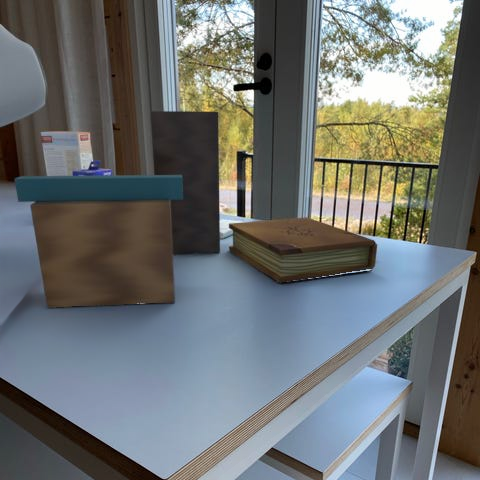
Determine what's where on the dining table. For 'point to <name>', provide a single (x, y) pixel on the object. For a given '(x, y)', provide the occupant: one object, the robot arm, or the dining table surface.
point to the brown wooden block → (105, 252)
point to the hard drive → (226, 228)
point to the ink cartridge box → (93, 171)
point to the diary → (301, 248)
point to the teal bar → (99, 188)
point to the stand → (190, 175)
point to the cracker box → (66, 152)
